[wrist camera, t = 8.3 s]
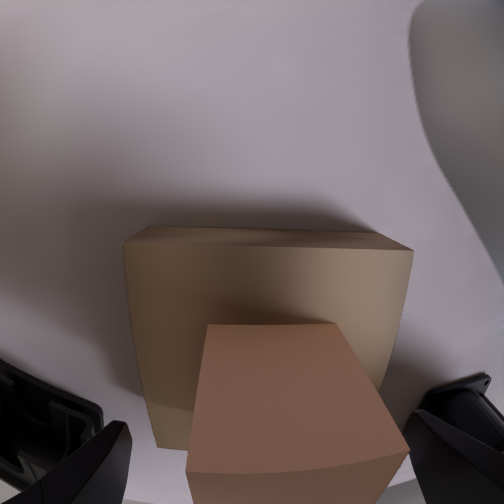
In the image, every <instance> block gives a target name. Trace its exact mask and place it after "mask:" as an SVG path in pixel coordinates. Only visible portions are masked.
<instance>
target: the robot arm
mask: <svg viewBox="0 0 504 504" xmlns="http://www.w3.org/2000/svg"><path fill="white" fill-rule="evenodd" d="M490 382H491V377H490V376H489V375H488V374H486V375H483V376H480V377H477V378H474V379H471V380H467V381H464V382H460V383H457V384H453V385H449V386H446V387H442V388H438V389H434V390H431V391H430V392H428V393H427V394H426V396H425V398H424V400H423V402H422V404H421V406H420V409H419V410H417V411H413V412H412V413H411V414H410V416H409V418H408V420H407V422H406V424H405V426H404V430H403V432H404V437H405V441H406V443H407V445H408V447H409V448H410V451H409V453H408V454H409V455H410V459H411V463H412V466H413V470H414V472H415V475H416V478H417V480H418V483H419V485H420V488H421V490H422V493H423V496H424V499H425V501H426V504H504V416H503V415H502V414H501V413H500V412H499V411H498V409H497V408H496V407H495V406H494V405H493V404H492V403H491V402H490V401H489V400H488V398H487V397H486V396H485V395H484V394H485V392H486V390H487V388H488V386H489V384H490ZM131 449H132V437H131V434H130V431H129V428H128V425H127V423H126V422H124V421H118V420H113V421H111V422H110V423H109V424H108V425H106V426H105V427H104V428H103V429H102V430H100V431H99V432H98V433H97V434H95V435H94V436H93V437H92V438H91V439H89V440H88V441H87V442H86V443H84V444H83V445H82V446H81V447H79V448H78V449H77V450H76V451H74V452H73V453H72V454H71V455H69V456H68V457H67V458H66V459H64V460H63V461H62V462H61V463H59V464H58V465H57V466H55V467H54V468H53V469H52V470H50V471H49V472H48V473H46V474H45V475H44V476H43V477H41V479H39V480H37V481H36V482H35V483H33V484H32V485H31V486H29V487H28V488H26V489H25V490H23V491H22V492H21V493H19V494H17V495H16V496H14V497H12V498H10V499H9V500H7V501H5V502H3V503H1V504H121V503H122V500H123V496H124V492H125V488H126V484H127V478H128V470H129V463H130V456H131Z"/></svg>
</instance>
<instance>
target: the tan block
mask: <svg viewBox="0 0 504 504" xmlns="http://www.w3.org/2000/svg"><path fill="white" fill-rule="evenodd" d="M123 252H124V265H125V276H126V286H127V295H128V304H129V312H130V319H131V326H132V333H133V339H134V345H135V351H136V357H137V362H138V368H139V373H140V378H141V383H142V388H143V392H144V397H145V401H146V406H147V410H148V414H149V418H150V422H151V426H152V430H153V434H154V437H155V441H156V445H157V447H158V448H166V449H175V450H186V451H188V448H189V441H190V434H191V427H192V420H193V413H194V407H195V400H196V394H197V387H198V381H199V375H200V368H201V362H202V356H203V350H204V344H205V338H206V332H207V326H208V324H218V325H302V324H332V323H336V324H337V325H338V327H339V329H340V330H341V332H342V333H343V335H344V337H345V338H346V340H347V342H348V343H349V345H350V347H351V348H352V350H353V352H354V353H355V355H356V357H357V358H358V360H359V362H360V363H361V365H362V367H363V368H364V370H365V372H366V373H367V375H368V377H369V378H370V380H371V382H372V384H373V385H374V387H375V389H376V390H377V392H378V394H379V391H380V388H381V385H382V382H383V379H384V376H385V373H386V370H387V367H388V363H389V360H390V357H391V353H392V350H393V346H394V343H395V339H396V335H397V331H398V327H399V323H400V319H401V315H402V311H403V306H404V302H405V297H406V292H407V288H408V283H409V277H410V272H411V266H412V260H413V254H414V250H412V249H410V248H408V247H406V246H404V245H402V244H400V243H398V242H396V241H394V240H392V239H390V238H388V237H386V236H384V235H382V234H380V233H362V232H340V231H315V230H288V229H255V228H213V227H147V228H145V229H144V230H142V231H141V232H139V233H138V234H136V235H135V236H133V237H132V238H130V239H129V240H127V241H126V242H124V243H123Z"/></svg>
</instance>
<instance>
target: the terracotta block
mask: <svg viewBox="0 0 504 504" xmlns="http://www.w3.org/2000/svg"><path fill="white" fill-rule="evenodd" d="M409 451H410V448H409V447H408V445H407V443H406V441H405V439H404V438H403V436H402V434H401V432H400V430H399V429H398V427H397V425H396V423H395V422H394V420H393V418H392V416H391V415H390V413H389V411H388V409H387V408H386V406H385V404H384V402H383V401H382V399H381V397H380V396H379V394H378V392H377V390H376V389H375V387H374V385H373V384H372V382H371V380H370V378H369V377H368V375H367V373H366V372H365V370H364V368H363V367H362V365H361V363H360V362H359V360H358V358H357V357H356V355H355V353H354V352H353V350H352V348H351V347H350V345H349V343H348V342H347V340H346V338H345V337H344V335H343V333H342V332H341V330H340V329H339V327H338V325H337V324H336V323H332V324H302V325H218V324H208V326H207V332H206V338H205V344H204V350H203V356H202V362H201V368H200V375H199V381H198V387H197V394H196V400H195V407H194V413H193V420H192V427H191V434H190V441H189V448H188V456H187V463H186V471H185V472H186V476H187V480H188V484H189V488H190V492H191V495H192V499H193V503H194V504H375V503H376V501H377V500H378V499H379V497H380V496H381V494H382V493H383V492H384V490H385V489H386V487H387V486H388V484H389V483H390V481H391V480H392V478H393V477H394V475H395V474H396V472H397V471H398V469H399V468H400V466H401V464H402V463H403V461H404V459H405V458H406V456H407V454H408V453H409Z"/></svg>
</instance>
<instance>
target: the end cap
mask: <svg viewBox="0 0 504 504" xmlns="http://www.w3.org/2000/svg"><path fill="white" fill-rule="evenodd" d="M103 428H104V421H103V411H102V409H101V408H100V407H99V406H98V405H97V404H95V403H92V402H90V401H87V400H85V399H82V398H80V397H77V396H75V395H72V394H70V393H68V392H65V391H63V390H61V389H58V388H56V387H54V386H52V385H50V384H47V383H45V382H43V381H41V380H39V379H37V378H35V377H33V376H31V375H29V374H27V373H25V372H23V371H21V370H19V369H17V368H16V367H14V366H12V365H10V364H8V363H6V362H5V361H3V360H1V359H0V479H1V480H2V481H4V482H5V483H7V484H8V485H10V486H12V487H13V488H15V489H17V490H19V491H20V492H22V491H23V490H25V489H26V488H28V487H29V486H31V485H32V484H33V483H35V482H36V481H37V480H39V479H41V477H43V476H44V475H45V474H46V473H48V472H49V471H50V470H52V469H53V468H54V467H55V466H57V465H58V464H59V463H61V462H62V461H63V460H64V459H66V458H67V457H68V456H69V455H71V454H72V453H73V452H74V451H76V450H77V449H78V448H79V447H81V446H82V445H83V444H84V443H86V442H87V441H88V440H89V439H91V438H92V437H93V436H94V435H95V434H97V433H98V432H99V431H100V430H102V429H103Z"/></svg>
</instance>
